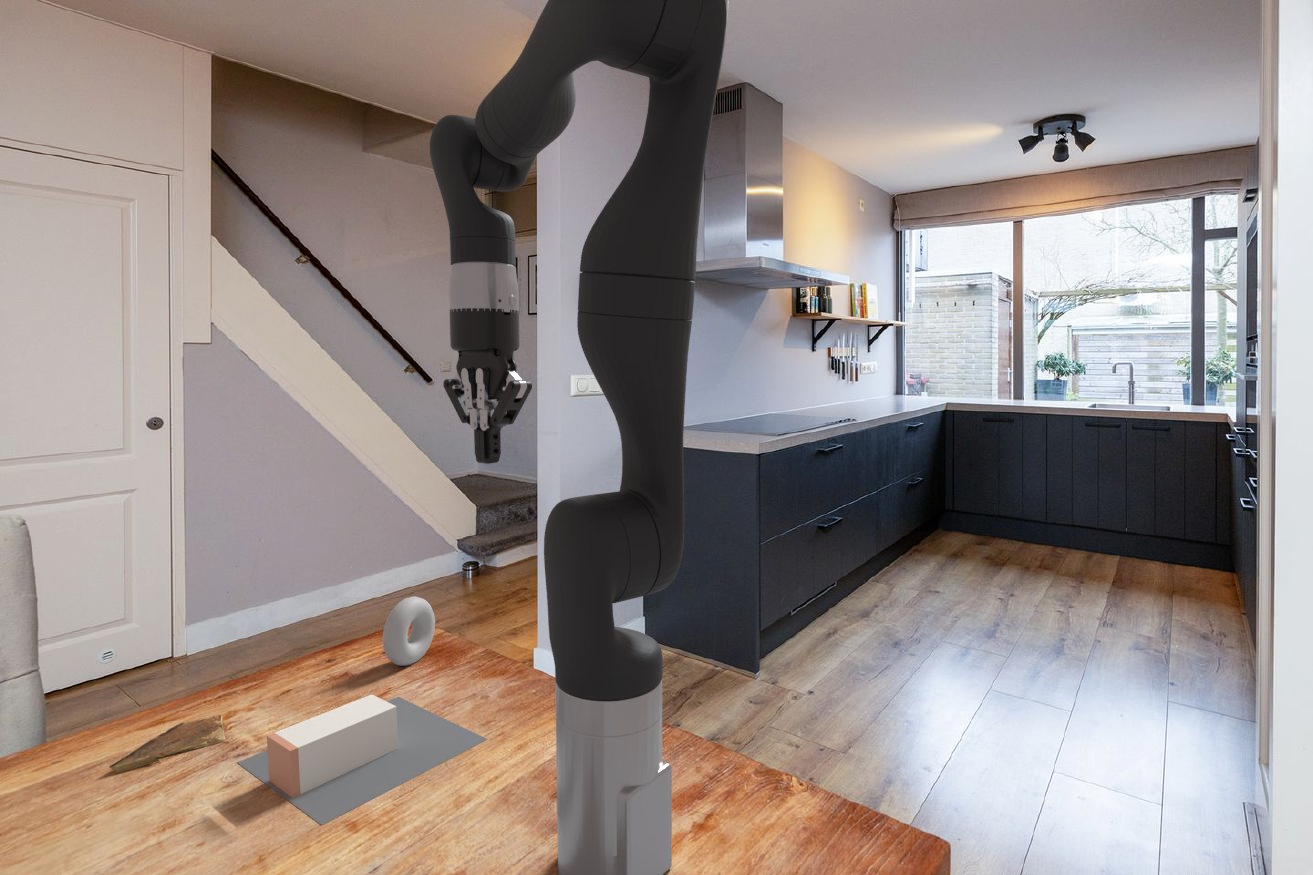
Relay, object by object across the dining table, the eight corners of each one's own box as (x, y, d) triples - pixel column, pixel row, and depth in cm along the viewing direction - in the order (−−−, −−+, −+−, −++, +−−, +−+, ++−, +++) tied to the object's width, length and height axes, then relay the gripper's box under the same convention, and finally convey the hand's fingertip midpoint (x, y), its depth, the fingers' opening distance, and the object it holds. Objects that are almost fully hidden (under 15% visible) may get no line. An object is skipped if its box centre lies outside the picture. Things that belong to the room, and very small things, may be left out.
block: (396, 706, 82) (290, 750, 73) (398, 748, 83) (292, 797, 73) (371, 694, 85) (266, 735, 76) (373, 734, 86) (269, 780, 76)
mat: (487, 743, 85) (487, 738, 85) (321, 829, 69) (321, 824, 69) (398, 700, 96) (398, 696, 96) (237, 766, 80) (236, 762, 80)
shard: (109, 779, 78) (108, 763, 78) (114, 749, 85) (112, 734, 85) (226, 749, 85) (225, 735, 84) (222, 723, 91) (221, 709, 91)
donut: (398, 679, 102) (396, 610, 101) (378, 675, 103) (375, 607, 102) (440, 652, 112) (438, 589, 111) (421, 649, 113) (419, 586, 112)
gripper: (419, 308, 82) (424, 461, 84) (497, 302, 74) (501, 471, 76) (473, 312, 88) (476, 455, 89) (550, 307, 80) (553, 464, 82)
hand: (488, 462), depth 83 cm, fingers closed
